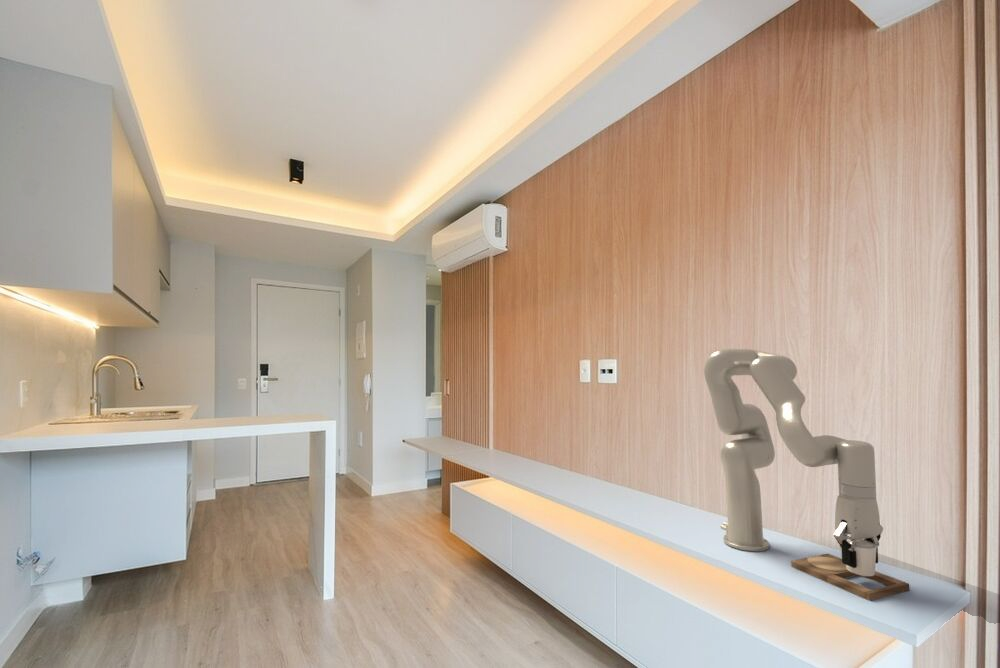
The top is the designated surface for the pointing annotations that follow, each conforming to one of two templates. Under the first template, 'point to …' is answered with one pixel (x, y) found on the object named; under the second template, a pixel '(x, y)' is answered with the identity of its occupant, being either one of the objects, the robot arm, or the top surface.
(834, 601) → the top surface
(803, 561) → the pocket board
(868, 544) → the cream short cylinder
